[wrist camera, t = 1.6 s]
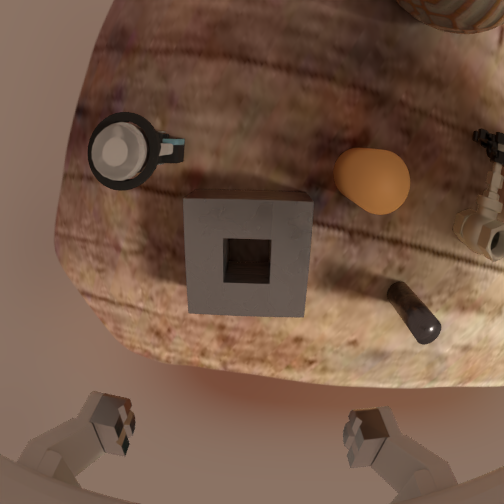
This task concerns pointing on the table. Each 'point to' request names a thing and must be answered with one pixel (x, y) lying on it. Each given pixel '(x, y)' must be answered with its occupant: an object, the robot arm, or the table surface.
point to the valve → (485, 205)
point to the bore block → (247, 273)
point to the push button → (129, 150)
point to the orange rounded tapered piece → (372, 179)
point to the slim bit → (414, 313)
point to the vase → (457, 14)
